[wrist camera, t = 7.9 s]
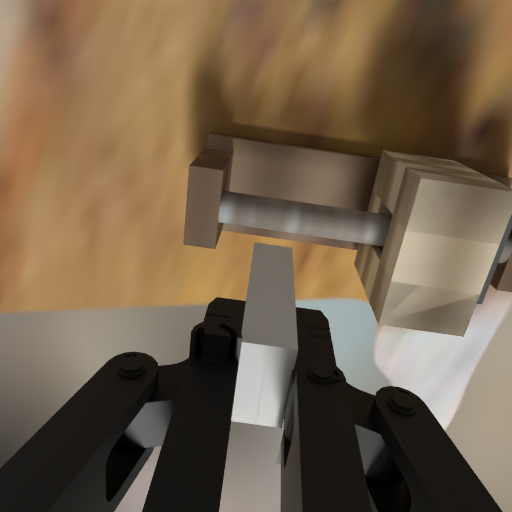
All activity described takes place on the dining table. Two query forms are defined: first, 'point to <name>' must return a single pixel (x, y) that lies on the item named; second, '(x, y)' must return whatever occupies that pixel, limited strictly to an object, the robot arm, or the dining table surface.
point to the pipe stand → (292, 197)
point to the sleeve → (432, 242)
